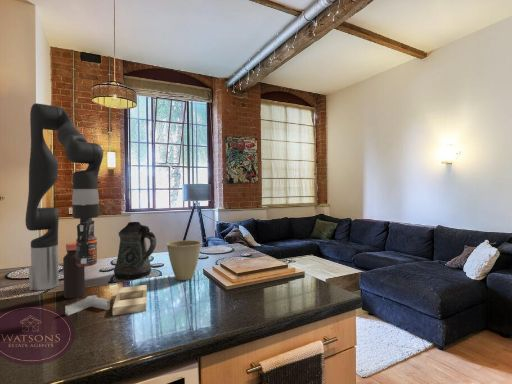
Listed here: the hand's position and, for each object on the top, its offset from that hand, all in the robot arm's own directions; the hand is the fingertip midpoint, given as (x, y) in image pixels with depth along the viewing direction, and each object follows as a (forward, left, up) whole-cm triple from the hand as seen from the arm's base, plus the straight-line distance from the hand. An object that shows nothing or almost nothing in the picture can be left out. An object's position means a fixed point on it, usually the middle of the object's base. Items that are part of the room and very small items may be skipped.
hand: (86, 253), depth 95 cm
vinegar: (-8, +19, -20) cm, 29 cm away
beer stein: (+13, +40, -20) cm, 47 cm away
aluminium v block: (0, +4, -19) cm, 20 cm away
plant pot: (+34, +26, -20) cm, 47 cm away
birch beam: (+13, +4, -19) cm, 24 cm away
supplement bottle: (0, 0, -4) cm, 4 cm away
